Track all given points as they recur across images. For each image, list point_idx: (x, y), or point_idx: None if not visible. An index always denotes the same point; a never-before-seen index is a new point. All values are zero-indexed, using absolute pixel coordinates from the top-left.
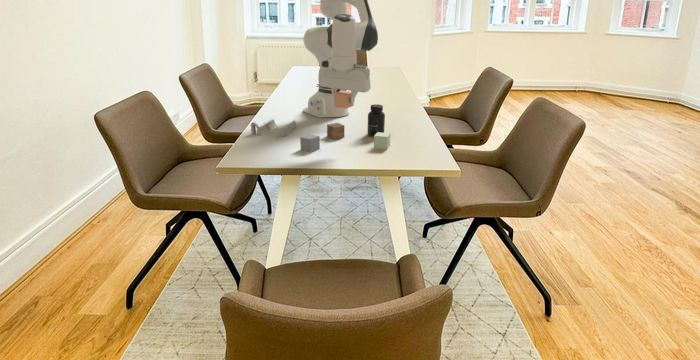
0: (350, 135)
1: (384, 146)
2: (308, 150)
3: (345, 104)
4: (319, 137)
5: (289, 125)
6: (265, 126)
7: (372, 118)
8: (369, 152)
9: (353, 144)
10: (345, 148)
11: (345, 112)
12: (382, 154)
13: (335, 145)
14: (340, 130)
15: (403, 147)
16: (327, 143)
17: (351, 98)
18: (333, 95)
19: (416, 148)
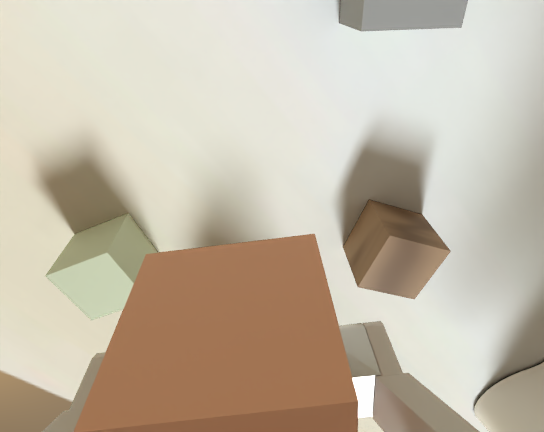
0: (336, 277)
1: (79, 238)
2: None
3: (142, 288)
4: (358, 29)
5: None
6: None
7: None
8: (91, 155)
9: (242, 199)
10: (228, 128)
11: (484, 414)
12: (23, 171)
13: (303, 133)
14: (362, 253)
15: (57, 290)
16: (358, 132)
17: (78, 407)
18: (407, 374)
19: (15, 308)
